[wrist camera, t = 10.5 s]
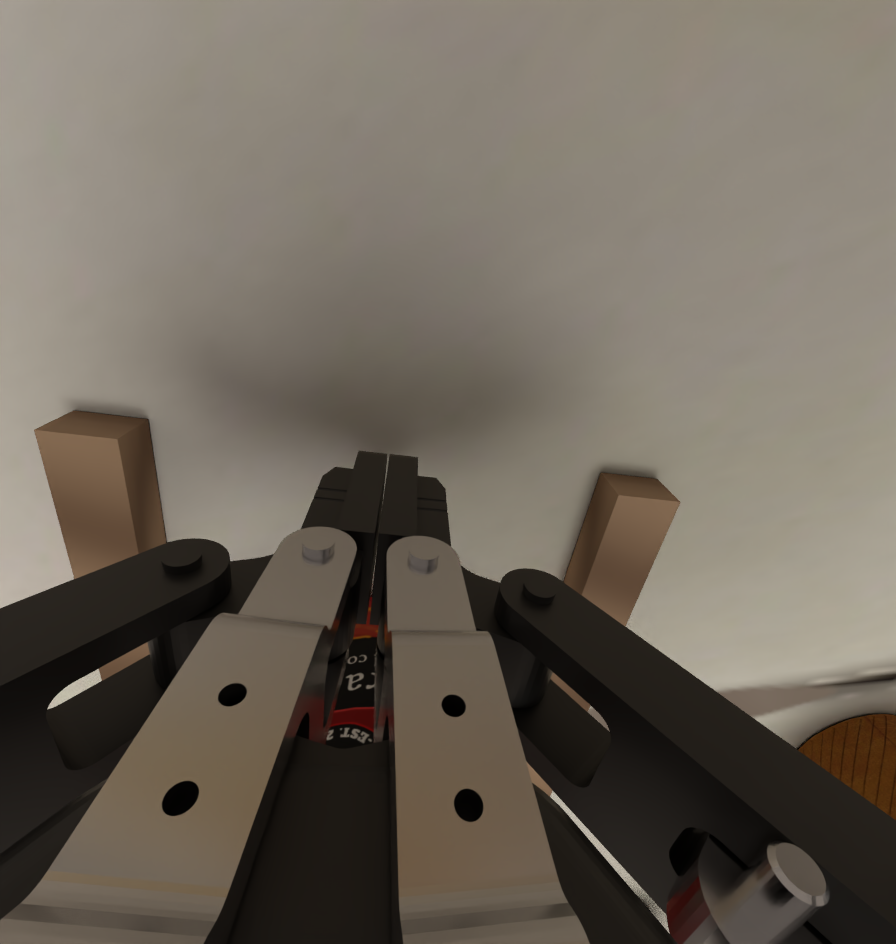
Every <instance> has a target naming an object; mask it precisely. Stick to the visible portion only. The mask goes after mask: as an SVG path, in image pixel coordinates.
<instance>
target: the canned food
mask: <svg viewBox="0 0 896 944" xmlns="http://www.w3.org/2000/svg"><path fill="white" fill-rule="evenodd" d="M371 604H372V597H370V601H369V608H368V615H367V622H366V624H356V625H355V631H354V637H353V640H352V643H351V645H350V646H349V656H348V661H347V664H346V668H345V672H344V676H343V679H342V683H341V687H340V691H339V695H338V698H337V702H336V706H335V710H334V713H333V717H332V721H331V725H330V728H329V732H328V736H327V740H326V744H325V745H328V746H331V747H334V748H339V749H347V748H353V747H358V746H362V745H367V744H371V743H373V740H374V681H375V654H376V645H377V635H378V626H379V625H369V623H370V614H371Z"/></svg>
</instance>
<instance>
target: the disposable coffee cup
mask: <svg viewBox="0 0 896 944" xmlns="http://www.w3.org/2000/svg"><path fill="white" fill-rule="evenodd" d="M798 751H800V752H801V753H802V754H804V755H805V756H807V757H808V758H809V759H811V760H812V761H814V762H815V763H816V764H818V765H819V766H821V767H822V768H823V769H825V770H826V771H828V772H829V773H830V774H832V775H833V776H835V777H836V778H837V779H839V780H840V781H842V782H843V783H844V784H846V785H847V786H849V787H850V788H851V789H853V790H854V791H856V792H857V793H858V794H860V795H861V796H863V797H864V798H865V799H867V800H868V801H870V802H871V803H872V804H874V805H875V806H876V807H878V808H879V809H881V810H882V811H883V812H885V813H886V814H888V815H889V816H890V817H892V818H893V819H895V820H896V716H895V715H890V714H876V715H867V716H862V717H858V718H853V719H849V720H846V721H843V722H841V723H838V724H836V725H834V726H831V727H829V728H827V729H825V730H824V731H822V732H820V733H818V734H817V735H815V736H813V737H812V738H811V739H809V740H808V741H807V742H806V743H805V744H804V745H803V746H802V747H801V748H799V749H798Z"/></svg>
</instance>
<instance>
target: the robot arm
mask: <svg viewBox="0 0 896 944" xmlns="http://www.w3.org/2000/svg"><path fill="white" fill-rule="evenodd" d="M386 464H387V454H384V453H375V452H366V451H359V452H358V455H357V458H356V462H355V465H354V468H353V469H349V468H340V467H335V468H333V469H332V470H330V471H329V472H328V473H326V474H325V475H323V477H322V479H321V481H320V484H319V486H318V490H317V491H316V493H315V496H314V499H313V501H312V503H311V506H310V508H309V510H308V513H307V515H306V518H305V520H304V523H303V525H302V527H301V529H300V530H297V531H295V532H293V533H291V534H290V535H288V536H287V537H285V538H284V539H283V541H282V542H281V543H280V545H279V547H278V548H277V550H276V552H275V553H274V554H272V555H269V556H265V557H261V558H255V559H247V560H238V561H230V556H229V553H228V551H227V549H226V548H225V547H224V546H222V545H221V544H219V543H217V542H214V541H211V540H207V539H182V540H176V541H172V542H168V543H165V544H162V545H160V546H157V547H155V548H152V549H150V550H147V551H145V552H142V553H139V554H137V555H134V556H132V557H129V558H127V559H124V560H122V561H119V562H117V563H114V564H112V565H109V566H107V567H104V568H101V569H99V570H96V571H94V572H91V573H89V574H86V575H84V576H81V577H79V578H76V579H74V580H71V581H69V582H66V583H64V584H61V585H58V586H56V587H53V588H51V589H48V590H46V591H43V592H41V593H38V594H36V595H33V596H31V597H28V598H26V599H23V600H20V601H18V602H15V603H13V604H10V605H8V606H5V607H3V608H0V944H896V820H895V819H893V818H892V817H890V816H889V815H888V814H886V813H885V812H883V811H882V810H881V809H879V808H878V807H876V806H875V805H874V804H872V803H871V802H870V801H868V800H867V799H865V798H864V797H863V796H861V795H860V794H858V793H857V792H856V791H854V790H853V789H851V788H850V787H849V786H847V785H846V784H844V783H843V782H842V781H840V780H839V779H837V778H836V777H835V776H833V775H832V774H830V773H829V772H828V771H826V770H825V769H823V768H822V767H821V766H819V765H818V764H816V763H815V762H814V761H812V760H811V759H809V758H808V757H807V756H805V755H804V754H802V753H801V752H800V751H798V750H797V749H795V748H794V747H793V746H791V745H790V744H789V743H787V742H786V741H784V740H783V739H782V738H780V737H779V736H777V735H776V734H775V733H773V732H772V731H770V730H769V729H768V728H766V727H765V726H763V725H762V724H761V723H759V722H758V721H756V720H755V719H754V718H752V717H751V716H749V715H748V714H747V713H745V712H744V711H742V710H741V709H740V708H738V707H737V706H735V705H734V704H733V703H731V702H730V701H728V700H727V699H726V698H724V697H723V696H721V695H720V694H719V693H717V692H716V691H714V690H713V689H712V688H710V687H709V686H708V685H706V684H705V683H703V682H702V681H701V680H699V679H698V678H696V677H695V676H694V675H692V674H691V673H689V672H688V671H687V670H685V669H684V668H682V667H681V666H680V665H678V664H677V663H675V662H674V661H673V660H671V659H670V658H668V657H667V656H666V655H664V654H663V653H661V652H660V651H659V650H657V649H656V648H654V647H653V646H652V645H650V644H649V643H647V642H646V641H645V640H643V639H642V638H640V637H639V636H638V635H636V634H635V633H634V632H632V631H631V630H629V629H628V628H627V627H625V626H624V625H622V624H621V623H620V622H618V621H617V620H615V619H614V618H613V617H611V616H610V615H608V614H607V613H606V612H604V611H603V610H601V609H600V608H599V607H597V606H596V605H594V604H593V603H592V602H590V601H589V600H587V599H586V598H585V597H583V596H582V595H580V594H579V593H578V592H576V591H575V590H573V589H572V588H571V587H569V586H568V585H566V584H565V583H564V582H562V581H561V580H559V579H558V578H556V577H555V576H553V575H551V574H548V573H546V572H543V571H539V570H535V569H517V570H513V571H510V572H509V573H507V574H506V575H505V576H504V577H503V578H502V580H501V583H499V582H496V581H492V580H489V579H486V578H483V577H480V576H478V575H475V574H473V573H471V572H470V571H468V570H466V569H465V568H464V567H462V566H461V564H460V560H459V557H458V555H457V553H456V551H455V550H454V549H453V548H452V547H451V542H450V532H449V522H448V513H447V503H446V491H445V488H444V487H443V486H442V484H441V483H440V482H439V481H438V480H437V478H432V477H423V476H418V457H411V456H402V455H393V454H390V456H389V463H388V470H387V477H386V484H385V474H386ZM384 484H385V491H384ZM383 494H384V499H383ZM382 503H383V506H382ZM376 551H377V554H376ZM375 558H376V564H375ZM374 565H375V574H374V584H373V594H372V604H371V614H370V623H369V625H379V626H378V635H377V645H376V654H375V681H374V740H373V743H371V744H367V745H362V746H358V747H353V748H347V749H339V748H334V747H331V746H328V745H325V744H326V740H327V736H328V732H329V728H330V725H331V721H332V717H333V713H334V710H335V706H336V702H337V698H338V695H339V691H340V687H341V683H342V679H343V676H344V672H345V668H346V664H347V661H348V656H349V646H350V645H351V643H352V640H353V637H354V631H355V625H356V624H366V622H367V615H368V608H369V601H370V594H371V586H372V579H373V572H374ZM145 643H148V648H149V653H150V654H149V655H147V656H146V657H144V658H142V659H140V660H138V661H137V662H135V663H133V664H131V665H129V666H128V667H126V668H124V669H122V670H121V671H119V672H117V673H115V674H113V675H112V676H110V677H108V678H106V679H105V680H103V681H101V682H99V683H97V684H96V685H94V686H92V687H90V688H89V689H87V690H85V691H83V692H81V693H80V694H78V695H76V696H74V697H72V698H71V699H69V700H67V701H65V702H64V703H62V704H60V705H58V706H56V707H54V708H51V709H48V710H47V708H48V706H49V704H50V703H51V701H52V700H53V699H54V697H55V696H56V695H57V694H58V693H59V692H60V691H62V690H63V689H64V688H65V687H67V686H68V685H70V684H71V683H73V682H75V681H76V680H78V679H80V678H82V677H84V676H86V675H88V674H89V673H91V672H93V671H95V670H97V669H99V668H100V667H102V666H104V665H106V664H108V663H110V662H112V661H113V660H115V659H117V658H119V657H121V656H123V655H125V654H126V653H128V652H130V651H132V650H134V649H136V648H137V647H139V646H141V645H143V644H145ZM552 673H555V674H556V675H557V676H558V677H559V678H560V679H561V680H562V681H564V682H565V683H566V684H567V685H568V686H569V687H570V688H572V689H573V690H574V691H575V692H576V693H577V694H578V695H579V696H581V697H582V698H583V699H584V700H585V701H586V702H587V703H588V704H590V705H591V706H592V707H593V708H594V709H595V710H596V711H597V712H598V713H599V714H600V715H601V716H602V717H603V719H604V720H605V722H606V723H607V725H608V728H609V730H610V732H609V731H608V730H607V729H606V728H604V727H603V726H602V725H601V724H600V723H599V722H598V721H597V720H595V719H594V718H593V717H592V716H591V715H590V714H589V713H588V712H587V711H586V710H584V709H583V708H582V707H581V706H580V705H579V704H578V703H577V702H576V701H575V700H573V699H572V698H571V697H570V696H569V695H568V694H567V693H566V692H565V691H563V690H562V689H561V688H560V687H559V686H558V685H557V684H556V683H555V682H553V681H552V680H551V679H550V678H551V676H552ZM526 762H527V763H528V764H529V765H530V766H531V767H532V768H533V769H534V770H535V772H536V773H537V774H538V775H539V776H540V777H541V778H542V779H543V780H544V781H545V782H546V784H547V785H548V786H549V787H550V788H551V789H552V790H553V791H554V792H555V793H556V794H557V796H558V797H559V798H560V799H561V800H562V801H563V802H564V803H565V804H566V805H567V806H568V808H569V809H570V810H571V811H572V812H573V813H574V814H575V815H576V816H577V817H578V818H579V820H580V821H581V822H582V823H583V824H584V825H585V826H586V827H587V828H588V829H589V830H590V832H591V833H592V834H593V835H594V836H595V837H596V838H597V839H598V840H599V841H600V842H601V844H602V845H603V846H604V847H605V848H606V849H607V850H608V851H609V852H610V853H611V855H612V856H613V857H614V858H615V859H616V860H617V861H618V862H619V863H620V864H621V865H622V867H623V868H624V869H625V870H626V871H627V872H628V873H629V874H630V875H631V876H632V877H633V879H634V880H635V881H636V882H637V883H638V884H639V885H640V886H641V887H642V888H643V889H644V891H645V892H646V893H647V894H648V895H649V896H650V897H651V898H652V899H653V900H654V901H655V903H656V904H657V905H658V906H659V907H660V908H661V909H662V910H663V911H664V912H665V913H666V915H667V921H668V928H669V932H670V934H669V933H668V932H667V930H666V929H665V928H664V927H663V926H662V924H661V923H660V922H659V921H658V920H657V919H656V917H655V916H654V915H653V914H652V913H651V912H650V910H649V909H648V908H647V907H646V906H645V905H644V903H643V902H642V901H641V900H640V899H639V898H638V896H637V895H636V894H635V893H634V892H633V891H632V889H631V888H630V887H629V886H628V885H627V884H626V882H625V881H624V880H623V879H622V878H621V877H620V875H619V874H618V873H617V872H616V871H615V870H614V868H613V867H612V866H611V865H610V864H609V863H608V861H607V860H606V859H605V858H604V857H603V856H602V854H601V853H600V852H599V851H598V850H597V849H596V847H595V846H594V845H593V844H592V843H591V842H590V840H589V839H588V838H587V837H586V836H585V835H584V833H583V832H582V831H581V830H580V829H579V828H578V826H577V825H576V824H575V823H574V822H573V821H572V819H571V818H570V817H569V816H568V815H567V814H566V813H565V811H564V810H563V809H562V808H561V807H560V806H559V805H558V804H557V803H556V802H555V801H554V800H553V799H552V798H551V797H549V796H548V795H547V794H546V793H545V792H544V791H543V790H541V789H540V788H539V787H537V786H536V785H535V784H534V783H532V781H531V777H530V774H529V770H528V766H527V763H526Z"/></svg>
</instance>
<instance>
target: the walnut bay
mask: <svg viewBox="0 0 896 944" xmlns="http://www.w3.org/2000/svg"><path fill="white" fill-rule="evenodd" d="M34 431H35V435H36V439H37V442H38V446H39V450H40V453H41V457H42V461H43V464H44V468H45V472H46V475H47V479H48V483H49V486H50V490H51V494H52V498H53V501H54V505H55V509H56V512H57V516H58V520H59V523H60V527H61V531H62V534H63V538H64V542H65V546H66V549H67V553H68V557H69V560H70V564H71V568H72V571H73V575H74V579H76V578H79V577H81V576H84V575H86V574H89V573H91V572H94V571H96V570H99V569H101V568H104V567H107V566H109V565H112V564H114V563H117V562H119V561H122V560H124V559H127V558H129V557H132V556H134V555H137V554H139V553H142V552H145V551H147V550H150V549H152V548H155V547H157V546H160V545H162V544H165V543H166V537H165V530H164V523H163V517H162V510H161V503H160V497H159V490H158V483H157V477H156V470H155V463H154V457H153V450H152V443H151V437H150V430H149V423H148V419H141V418H133V417H124V416H116V415H107V414H99V413H90V412H82V411H72V412H70V413H68V414H66V415H64V416H62V417H60V418H58V419H55V420H53V421H51V422H49V423H47V424H45V425H43V426H41V427H39V428H37V429H35V430H34ZM679 504H680V501H679V500H678V499H677V498H676V497H675V496H674V495H673V494H672V493H671V492H670V491H669V490H668V489H667V488H666V487H665V486H664V485H663V484H662V483H661V482H660V481H659V480H658V479H652V478H644V477H635V476H627V475H618V474H610V473H600V476H599V479H598V482H597V485H596V488H595V491H594V494H593V497H592V500H591V503H590V506H589V508H588V511H587V514H586V517H585V520H584V523H583V526H582V529H581V532H580V535H579V538H578V541H577V544H576V547H575V550H574V552H573V555H572V558H571V561H570V564H569V567H568V570H567V573H566V576H565V579H564V583H565V584H566V585H568V586H569V587H571V588H572V589H573V590H575V591H576V592H578V593H579V594H580V595H582V596H583V597H585V598H586V599H587V600H589V601H590V602H592V603H593V604H594V605H596V606H597V607H599V608H600V609H601V610H603V611H604V612H606V613H607V614H608V615H610V616H611V617H613V618H614V619H615V620H617V621H618V622H620V623H621V624H622V625H624V626H626V624H627V621H628V619H629V617H630V615H631V612H632V610H633V608H634V606H635V603H636V601H637V599H638V597H639V594H640V592H641V590H642V588H643V585H644V583H645V581H646V579H647V576H648V574H649V572H650V569H651V567H652V565H653V563H654V560H655V558H656V556H657V554H658V551H659V549H660V547H661V545H662V542H663V540H664V538H665V536H666V533H667V531H668V529H669V527H670V524H671V522H672V520H673V518H674V515H675V513H676V511H677V509H678V506H679ZM149 654H150V653H149V648H148V643H145V644H143V645H141V646H139V647H137V648H136V649H134V650H132V651H130V652H128V653H126V654H125V655H123V656H121V657H119V658H117V659H115V660H113V661H112V662H110V663H108V664H106V665H104V666H102V667H100V668H99V671H100V675H101V678H102V681H103V680H105V679H106V678H108V677H110V676H112V675H113V674H115V673H117V672H119V671H121V670H122V669H124V668H126V667H128V666H129V665H131V664H133V663H135V662H137V661H138V660H140V659H142V658H144V657H146V656H147V655H149ZM550 679H551V680H552V681H553V682H555V683H556V684H557V685H558V686H559V687H560V688H561V689H562V690H563V691H565V692H566V693H567V694H568V695H569V696H570V697H571V698H572V699H573V700H575V701H576V702H577V703H578V704H579V705H580V706H581V707H582V708H583V709H584V710H586V711H587V712H588V709H589V707H590V704H588V703H587V702H586V701H585V700H584V699H583V698H582V697H581V696H579V695H578V694H577V693H576V692H575V691H574V690H573V689H572V688H570V687H569V686H568V685H567V684H566V683H565V682H564V681H562V680H561V679H560V678H559V677H558V676H557V675H556V674H555V673H552V676H551V678H550ZM526 763H527V762H526ZM527 766H528V770H529V774H530V777H531V781H532V783H534V784H535V785H536V786H537V787H539V788H540V789H541V790H543V791H544V792H545V793H546V794H547V795H548V796H549V797H550V795H551V793H552V791H553V790H552V789H551V788H550V787H549V786H548V785H547V784H546V782H545V781H544V780H543V779H542V778H541V777H540V776H539V775H538V774H537V773H536V772H535V770H534V769H533V768H532V767H531V766H530V765H529V764H528V763H527Z"/></svg>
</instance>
